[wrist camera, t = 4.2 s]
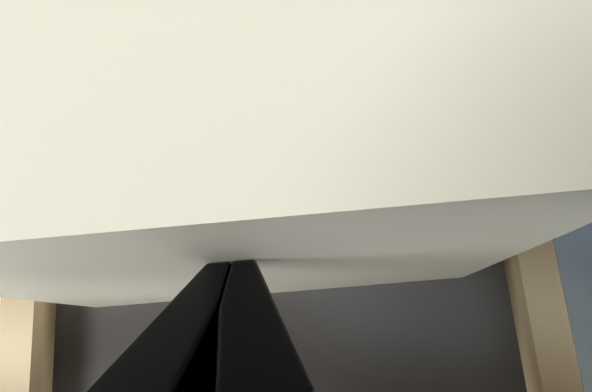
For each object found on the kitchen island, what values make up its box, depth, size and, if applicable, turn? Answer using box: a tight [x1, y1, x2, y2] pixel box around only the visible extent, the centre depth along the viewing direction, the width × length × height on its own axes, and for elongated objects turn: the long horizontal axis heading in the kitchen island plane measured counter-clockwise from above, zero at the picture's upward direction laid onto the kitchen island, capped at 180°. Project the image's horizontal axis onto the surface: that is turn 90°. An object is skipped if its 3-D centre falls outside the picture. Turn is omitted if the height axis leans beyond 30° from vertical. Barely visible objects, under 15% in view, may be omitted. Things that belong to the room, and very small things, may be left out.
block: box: [0, 0, 592, 307], centre depth 11 cm, size 4×11×10 cm, turn 94°
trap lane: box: [0, 240, 584, 392], centre depth 15 cm, size 14×16×1 cm
